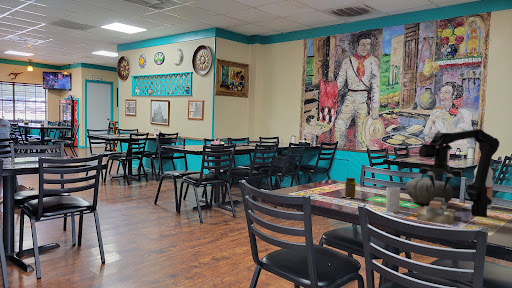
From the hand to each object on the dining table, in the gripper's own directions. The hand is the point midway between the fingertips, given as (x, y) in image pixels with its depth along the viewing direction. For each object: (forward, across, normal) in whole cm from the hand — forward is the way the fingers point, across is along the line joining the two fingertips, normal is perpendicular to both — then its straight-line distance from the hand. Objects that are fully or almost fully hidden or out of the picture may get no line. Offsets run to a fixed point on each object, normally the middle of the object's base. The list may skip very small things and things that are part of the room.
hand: (439, 189), depth 182 cm
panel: (+13, 0, -6) cm, 14 cm away
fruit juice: (+13, +17, +39) cm, 45 cm away
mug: (+13, -21, -6) cm, 26 cm away
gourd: (+13, -9, +29) cm, 33 cm away
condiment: (+13, -51, +15) cm, 55 cm away
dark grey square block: (+8, 0, 0) cm, 8 cm away
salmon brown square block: (+7, 0, -12) cm, 14 cm away
